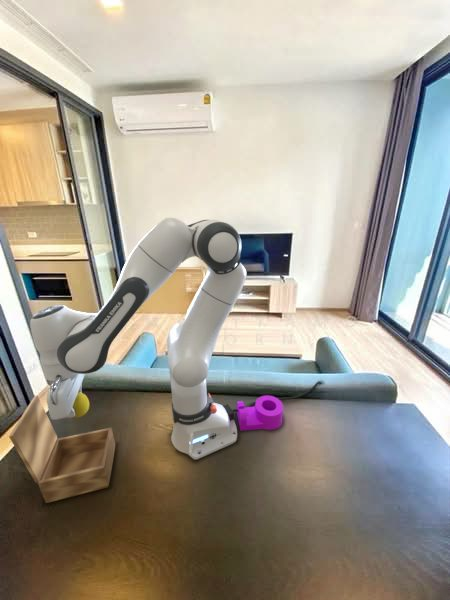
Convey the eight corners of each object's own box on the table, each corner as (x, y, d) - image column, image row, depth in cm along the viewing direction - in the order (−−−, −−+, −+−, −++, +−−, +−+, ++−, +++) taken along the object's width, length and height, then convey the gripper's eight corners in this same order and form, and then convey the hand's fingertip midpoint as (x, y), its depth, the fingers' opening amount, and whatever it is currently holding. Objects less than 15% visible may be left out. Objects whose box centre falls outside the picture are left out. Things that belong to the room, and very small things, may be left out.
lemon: (83, 424, 69) (75, 402, 66) (65, 422, 70) (58, 400, 67) (96, 409, 74) (89, 388, 71) (79, 407, 75) (73, 386, 72)
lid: (37, 395, 70) (34, 395, 70) (12, 435, 57) (8, 436, 57) (57, 437, 76) (54, 438, 76) (39, 481, 63) (35, 482, 63)
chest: (115, 445, 82) (111, 427, 80) (108, 487, 70) (103, 467, 67) (62, 457, 79) (56, 438, 76) (45, 503, 66) (37, 483, 64)
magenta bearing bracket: (277, 407, 97) (278, 394, 95) (285, 428, 88) (286, 414, 86) (236, 410, 96) (236, 397, 93) (240, 432, 86) (240, 418, 84)
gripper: (64, 388, 57) (78, 433, 62) (85, 344, 76) (94, 381, 81) (33, 394, 56) (49, 439, 61) (62, 347, 74) (73, 385, 79)
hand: (75, 406), depth 71 cm, fingers closed on lemon, 5 cm apart
